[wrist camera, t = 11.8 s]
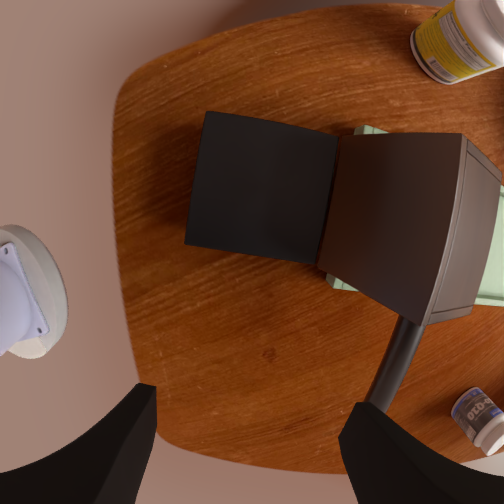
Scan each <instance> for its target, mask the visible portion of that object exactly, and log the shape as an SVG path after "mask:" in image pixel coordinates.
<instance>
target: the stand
mask: <svg viewBox="0 0 504 504" xmlns="http://www.w3.org/2000/svg"><path fill="white" fill-rule="evenodd" d="M338 142H339V137H338V136H334V135H331V134H327V133H323V132H319V131H315V130H311V129H307V128H303V127H298V126H294V125H289V124H285V123H280V122H275V121H270V120H264V119H259V118H253V117H248V116H241V115H235V114H228V113H221V112H214V111H206V114H205V118H204V123H203V128H202V134H201V139H200V144H199V150H198V155H197V161H196V167H195V173H194V179H193V185H192V191H191V198H190V204H189V211H188V218H187V226H186V233H185V241H184V243H185V244H186V245H191V246H197V247H204V248H210V249H216V250H223V251H229V252H236V253H242V254H248V255H255V256H261V257H268V258H274V259H281V260H287V261H294V262H300V263H307V264H315V262H316V258H317V253H318V249H319V244H320V239H321V235H322V230H323V225H324V220H325V215H326V210H327V205H328V200H329V195H330V189H331V184H332V178H333V172H334V167H335V161H336V155H337V148H338Z"/></svg>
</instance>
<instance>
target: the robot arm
mask: <svg viewBox="0 0 504 504" xmlns="http://www.w3.org/2000/svg"><path fill="white" fill-rule="evenodd" d="M7 250H8V252H7ZM40 329H41V330H40ZM49 331H50V330H49V326H48V324H47V322H46V320H45V318H44V316H43V314H42V312H41V310H40V308H39V305H38V303H37V301H36V299H35V297H34V294H33V292H32V290H31V287H30V285H29V282H28V280H27V277H26V275H25V272H24V270H23V267H22V264H21V262H20V259H19V256H18V253H17V250H16V247H15V245H14V243H12V242H9V243H7V244H5V245H4V246H2V247H1V248H0V356H2V355H3V354H4V353H5V352H6V351H7V350H8V349H9V348H10V347H11V346H13V345H14V344H15V343H16V342H20V341H23V340H27V339H31V338H35V337H39V336H42V335H46V334H47V333H49ZM156 428H157V406H156V386H152V385H147V384H143V383H138V384H136V385H135V386H134V388H133V389H132V390H131V391H130V392H129V393H128V394H127V395H126V396H125V397H124V398H123V399H122V401H120V402H119V404H117V405H116V406H115V407H114V408H113V409H112V410H111V411H110V412H109V413H108V414H107V415H106V416H105V417H104V418H102V419H101V420H100V421H99V422H98V423H96V424H95V425H94V426H93V427H92V428H90V429H89V430H88V431H87V432H85V433H84V434H83V435H81V436H80V437H78V438H77V439H76V440H74V441H73V442H71V443H70V444H68V445H66V446H65V447H63V448H61V449H60V450H58V451H56V452H54V453H52V454H51V455H49V456H47V457H45V458H43V459H40V460H38V461H36V462H33V463H30V464H28V465H25V466H23V467H20V468H17V469H14V470H11V471H7V472H3V473H0V504H135V501H136V496H137V493H138V490H139V487H140V484H141V481H142V478H143V475H144V472H145V469H146V466H147V463H148V460H149V457H150V453H151V451H152V447H153V442H154V438H155V433H156ZM338 439H339V445H340V450H341V455H342V459H343V462H344V465H345V468H346V471H347V473H348V476H349V479H350V481H351V484H352V487H353V490H354V492H355V495H356V497H357V501H358V504H504V477H503V476H496V475H491V474H488V473H484V472H480V471H477V470H474V469H470V468H468V467H466V466H463V465H461V464H458V463H456V462H454V461H452V460H450V459H448V458H446V457H444V456H442V455H440V454H438V453H437V452H435V451H433V450H432V449H430V448H429V447H427V446H426V445H424V444H423V443H421V442H420V441H418V440H417V439H416V438H414V437H413V436H412V435H410V434H409V433H408V432H407V431H405V430H404V429H403V428H402V427H400V426H399V425H398V424H397V423H395V422H394V421H393V420H392V419H391V418H389V417H388V416H387V415H386V414H385V413H383V412H382V411H381V410H380V409H378V408H377V407H376V406H375V405H373V404H372V403H371V402H357V403H356V404H355V406H354V408H353V410H352V412H351V414H350V416H349V418H348V420H347V422H346V424H345V426H344V428H343V429H342V431H341V433H340V435H339V437H338Z"/></svg>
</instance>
